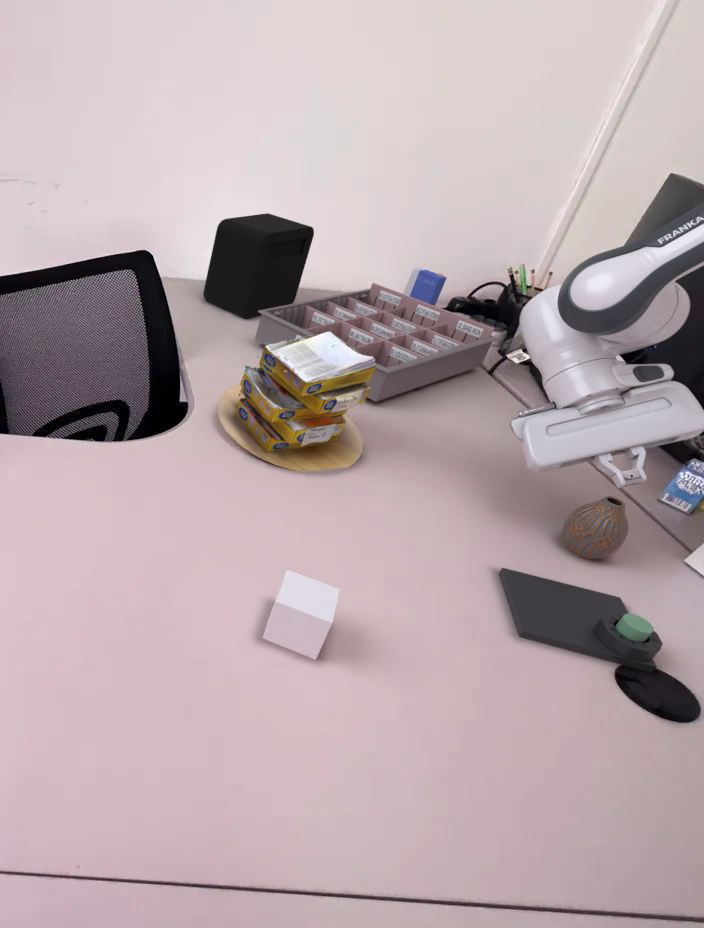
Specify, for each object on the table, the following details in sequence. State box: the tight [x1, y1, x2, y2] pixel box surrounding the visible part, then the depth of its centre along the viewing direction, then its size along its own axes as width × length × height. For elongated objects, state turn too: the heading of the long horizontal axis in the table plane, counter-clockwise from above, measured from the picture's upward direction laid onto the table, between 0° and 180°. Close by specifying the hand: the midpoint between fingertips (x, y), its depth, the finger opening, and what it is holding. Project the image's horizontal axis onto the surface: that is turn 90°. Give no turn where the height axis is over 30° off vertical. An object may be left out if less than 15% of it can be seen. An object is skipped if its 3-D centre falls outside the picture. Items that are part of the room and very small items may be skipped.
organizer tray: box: [254, 282, 499, 403], centre depth 144 cm, size 32×40×10 cm
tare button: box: [615, 613, 655, 643], centre depth 78 cm, size 3×3×2 cm
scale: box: [498, 567, 664, 674], centre depth 83 cm, size 14×12×3 cm
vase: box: [561, 495, 630, 560], centre depth 93 cm, size 7×7×9 cm
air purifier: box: [202, 213, 315, 320], centre depth 163 cm, size 20×15×20 cm
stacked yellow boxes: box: [216, 332, 376, 473], centre depth 112 cm, size 25×25×17 cm
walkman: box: [402, 267, 448, 306], centre depth 169 cm, size 8×3×12 cm, turn 27°
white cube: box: [262, 569, 341, 661], centre depth 76 cm, size 6×6×6 cm
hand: (632, 484), depth 89 cm, fingers closed
